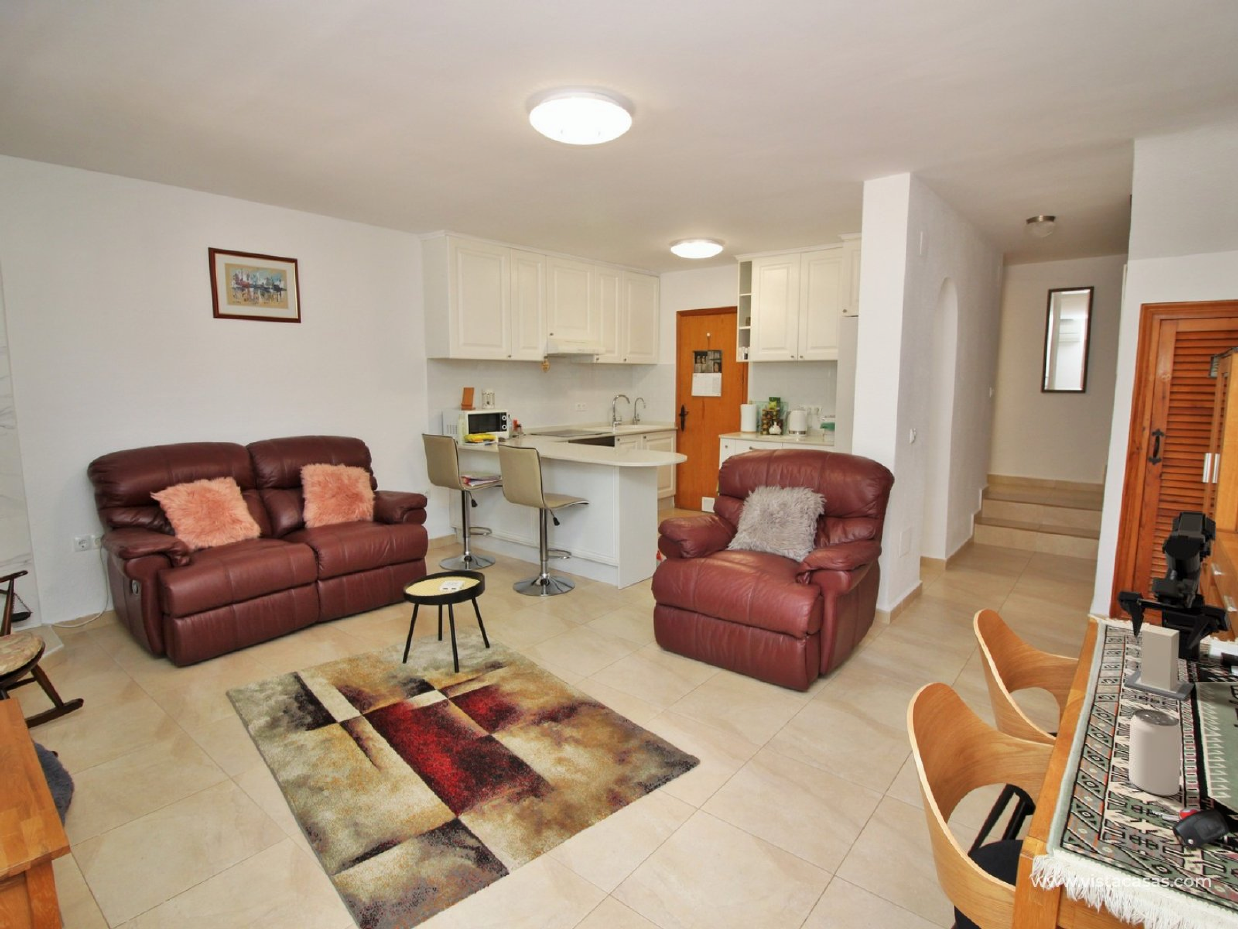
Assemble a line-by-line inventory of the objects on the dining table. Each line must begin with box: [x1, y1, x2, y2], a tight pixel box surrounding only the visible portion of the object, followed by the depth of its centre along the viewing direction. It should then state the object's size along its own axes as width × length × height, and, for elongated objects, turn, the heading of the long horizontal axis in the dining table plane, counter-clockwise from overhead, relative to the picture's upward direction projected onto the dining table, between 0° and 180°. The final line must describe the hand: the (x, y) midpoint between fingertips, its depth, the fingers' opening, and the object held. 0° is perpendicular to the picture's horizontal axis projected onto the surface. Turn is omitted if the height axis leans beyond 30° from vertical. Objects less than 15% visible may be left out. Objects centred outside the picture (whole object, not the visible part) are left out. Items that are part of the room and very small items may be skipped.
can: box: [1128, 708, 1182, 797], centre depth 105 cm, size 6×6×12 cm
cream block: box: [1140, 624, 1179, 690], centre depth 139 cm, size 5×5×12 cm
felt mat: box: [1123, 669, 1195, 702], centre depth 140 cm, size 10×10×1 cm
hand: (1160, 642), depth 139 cm, fingers open, 9 cm apart
